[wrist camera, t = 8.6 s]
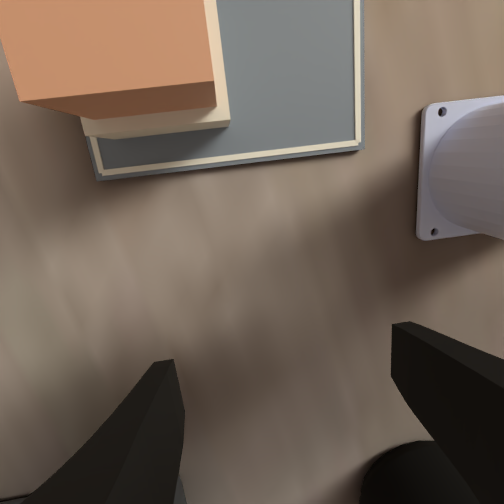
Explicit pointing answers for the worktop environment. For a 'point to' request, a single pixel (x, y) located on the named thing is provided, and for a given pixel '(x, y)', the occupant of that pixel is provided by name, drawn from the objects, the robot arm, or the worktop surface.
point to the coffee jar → (415, 478)
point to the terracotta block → (109, 55)
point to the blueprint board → (253, 94)
